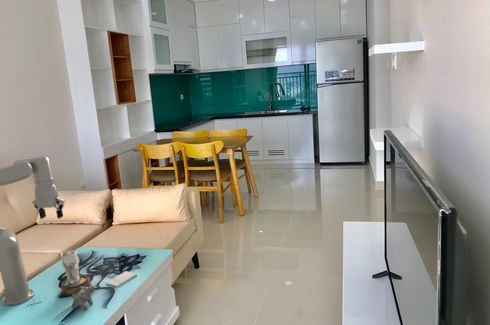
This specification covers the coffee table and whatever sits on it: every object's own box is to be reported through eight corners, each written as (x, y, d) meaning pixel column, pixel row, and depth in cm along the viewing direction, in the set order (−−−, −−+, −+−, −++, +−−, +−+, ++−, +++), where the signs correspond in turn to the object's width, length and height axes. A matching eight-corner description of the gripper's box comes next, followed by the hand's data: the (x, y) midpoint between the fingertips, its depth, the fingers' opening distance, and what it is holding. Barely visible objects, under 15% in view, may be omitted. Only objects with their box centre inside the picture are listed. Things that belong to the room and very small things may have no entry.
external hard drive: (137, 276, 200) (117, 288, 190) (126, 273, 204) (106, 285, 194) (136, 273, 200) (116, 285, 189) (125, 270, 204) (105, 282, 194)
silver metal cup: (76, 286, 189) (70, 256, 185) (63, 285, 190) (57, 256, 187) (85, 278, 195) (79, 249, 192) (72, 278, 197) (66, 250, 193)
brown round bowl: (56, 295, 189) (54, 287, 188) (73, 280, 201) (72, 274, 200) (79, 296, 186) (78, 288, 185) (96, 281, 198) (95, 274, 197)
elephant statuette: (69, 313, 173) (65, 297, 171) (80, 296, 185) (77, 281, 182) (90, 311, 173) (87, 295, 171) (100, 295, 184) (97, 280, 182)
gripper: (23, 186, 188) (31, 220, 191) (54, 184, 183) (62, 220, 187) (34, 181, 195) (42, 215, 198) (65, 180, 190) (72, 214, 194)
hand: (51, 217), depth 193 cm, fingers open, 9 cm apart
